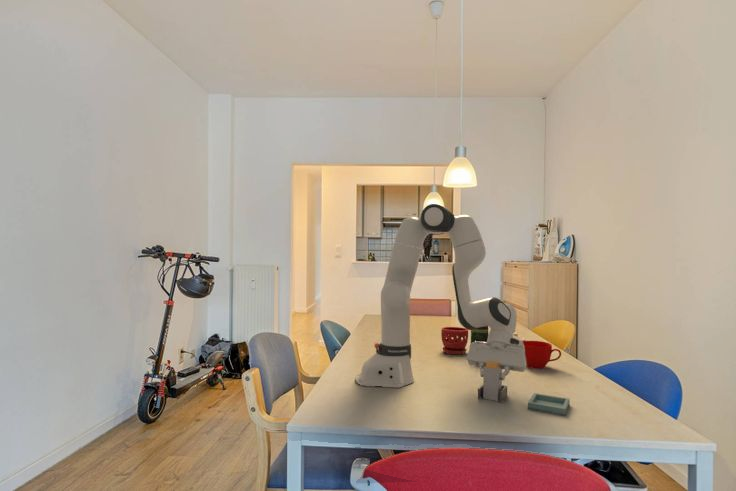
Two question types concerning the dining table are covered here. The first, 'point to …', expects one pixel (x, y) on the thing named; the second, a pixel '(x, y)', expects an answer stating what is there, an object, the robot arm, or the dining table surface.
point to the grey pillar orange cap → (492, 380)
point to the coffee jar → (479, 334)
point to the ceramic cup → (538, 353)
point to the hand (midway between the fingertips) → (492, 377)
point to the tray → (548, 404)
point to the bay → (501, 394)
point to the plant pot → (454, 340)
